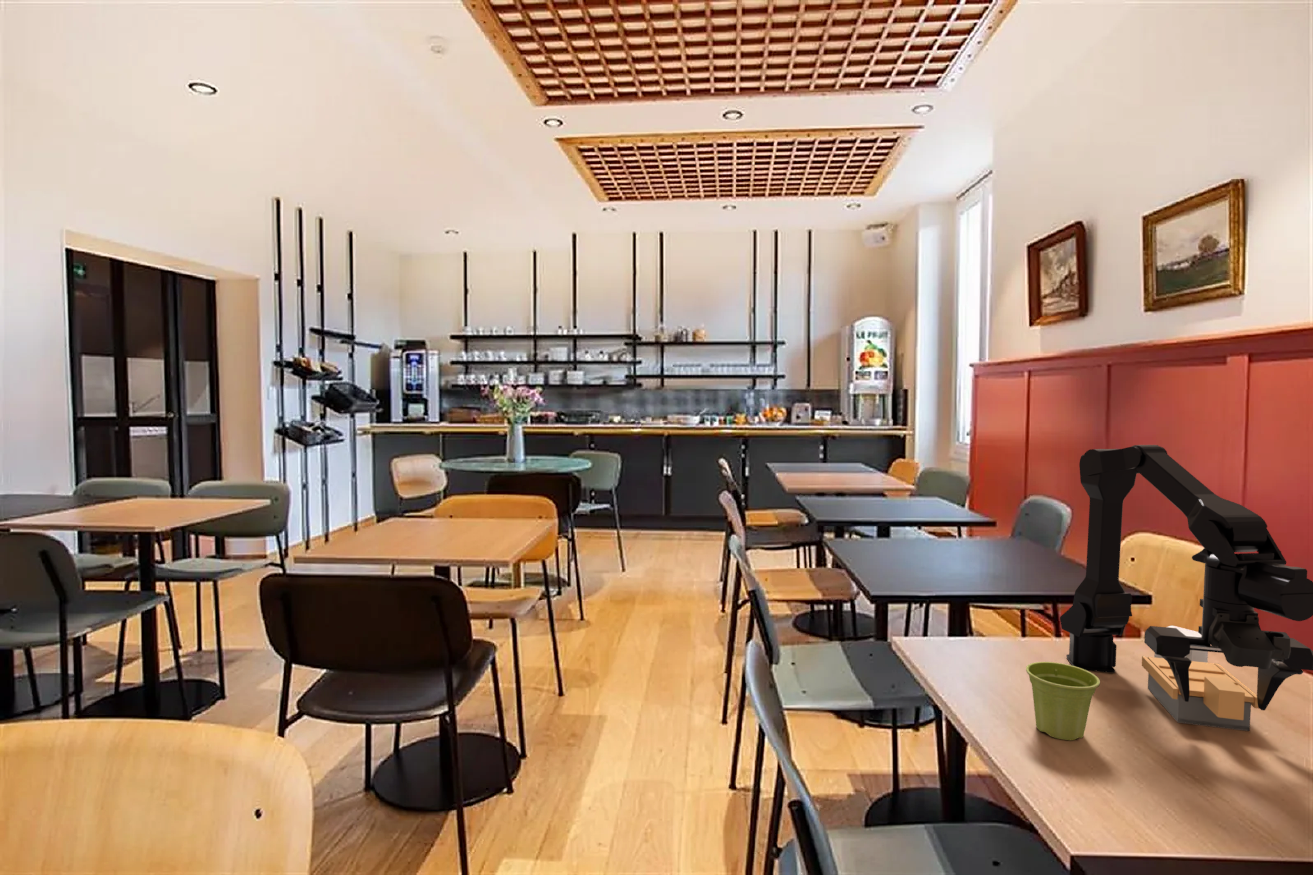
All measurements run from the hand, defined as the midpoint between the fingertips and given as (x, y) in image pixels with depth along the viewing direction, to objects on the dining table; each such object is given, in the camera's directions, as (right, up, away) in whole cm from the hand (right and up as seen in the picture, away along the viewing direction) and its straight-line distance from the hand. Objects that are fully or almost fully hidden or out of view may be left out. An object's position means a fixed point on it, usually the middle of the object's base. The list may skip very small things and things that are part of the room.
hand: (1223, 705), depth 103 cm
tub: (+3, -4, +9) cm, 10 cm away
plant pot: (-23, -5, +2) cm, 23 cm away
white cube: (+14, -3, +28) cm, 31 cm away
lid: (+2, -1, +7) cm, 7 cm away
